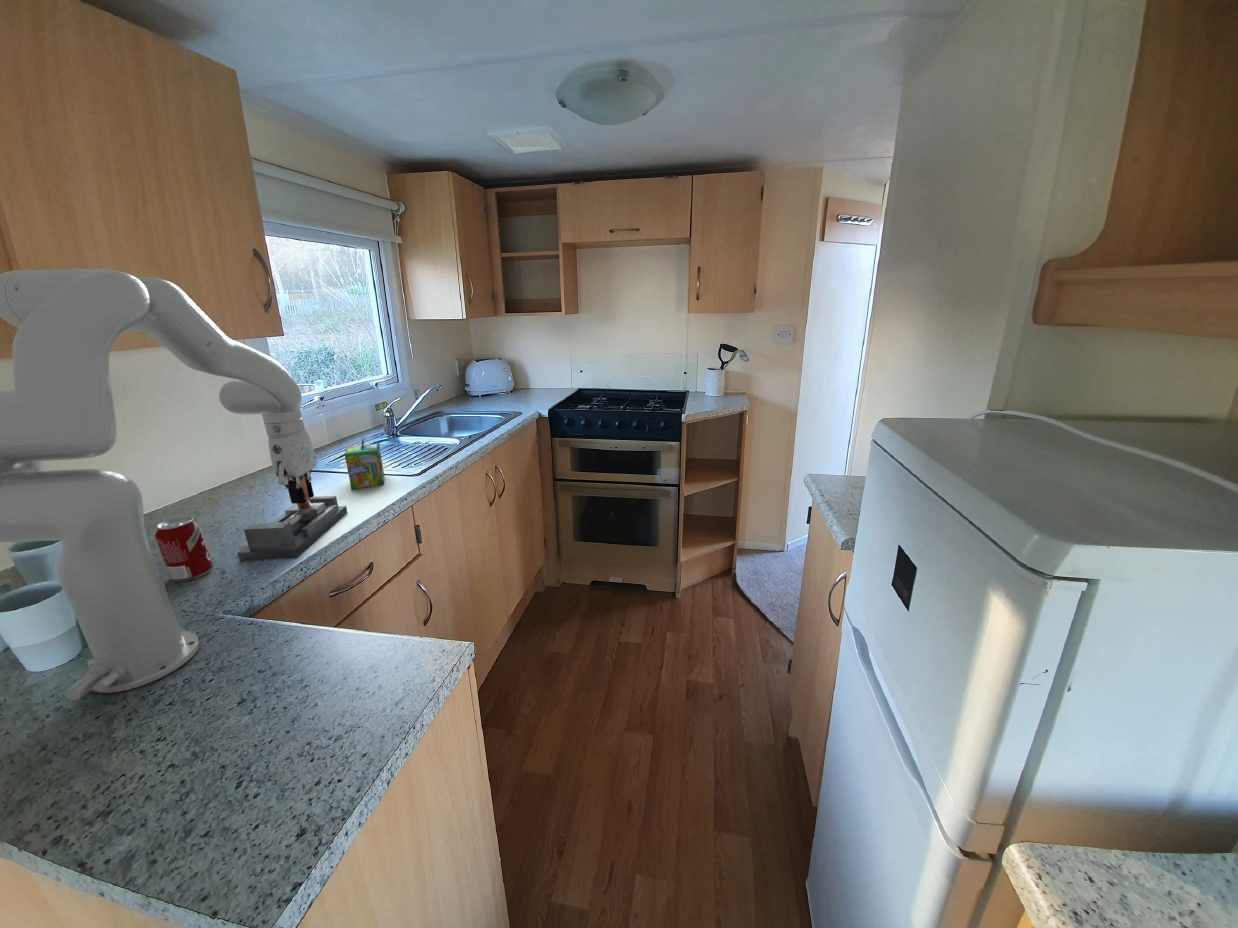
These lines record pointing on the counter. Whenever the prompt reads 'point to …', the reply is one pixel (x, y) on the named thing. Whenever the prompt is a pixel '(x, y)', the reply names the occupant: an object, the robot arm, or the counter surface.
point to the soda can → (183, 549)
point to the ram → (303, 508)
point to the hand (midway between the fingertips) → (303, 499)
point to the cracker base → (298, 540)
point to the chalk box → (364, 465)
